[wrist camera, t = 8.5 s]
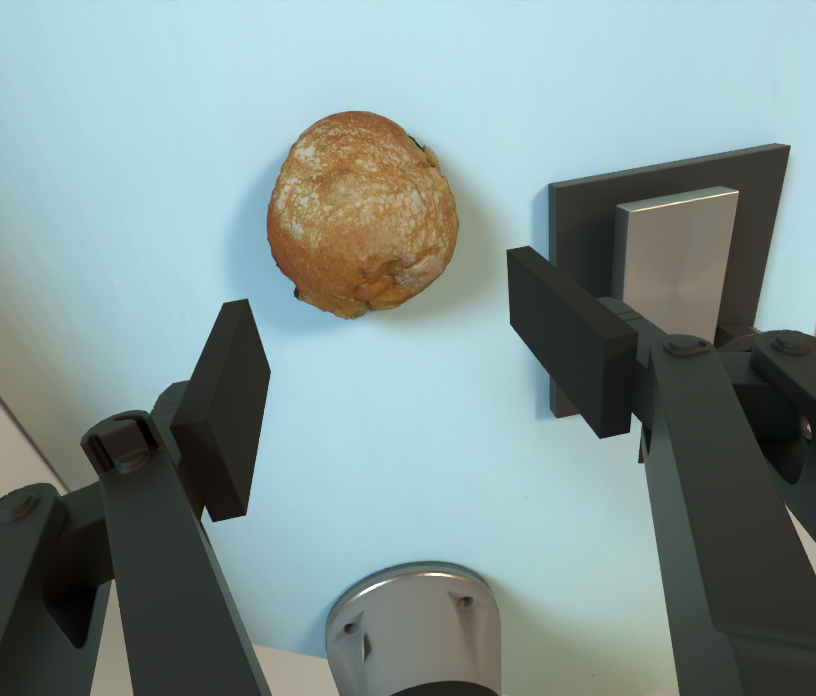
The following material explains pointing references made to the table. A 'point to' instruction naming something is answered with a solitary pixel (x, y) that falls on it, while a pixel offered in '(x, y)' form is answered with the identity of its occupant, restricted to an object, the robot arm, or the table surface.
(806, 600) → the robot arm
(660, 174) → the scale
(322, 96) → the table surface
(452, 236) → the bread roll
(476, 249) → the table surface
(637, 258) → the silver metal plate
